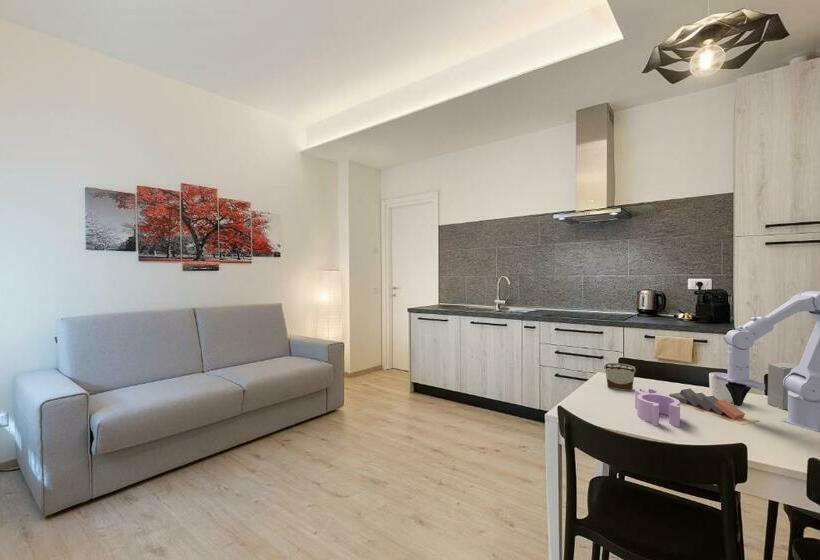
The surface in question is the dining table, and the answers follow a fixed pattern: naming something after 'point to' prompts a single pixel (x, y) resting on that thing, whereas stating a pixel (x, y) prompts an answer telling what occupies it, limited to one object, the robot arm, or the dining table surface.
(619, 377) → the food container
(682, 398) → the domino
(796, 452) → the dining table surface
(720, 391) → the white cup
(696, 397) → the domino
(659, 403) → the clip
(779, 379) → the skincare box
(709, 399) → the domino
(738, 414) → the rust domino
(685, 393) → the domino
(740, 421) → the cork strip
